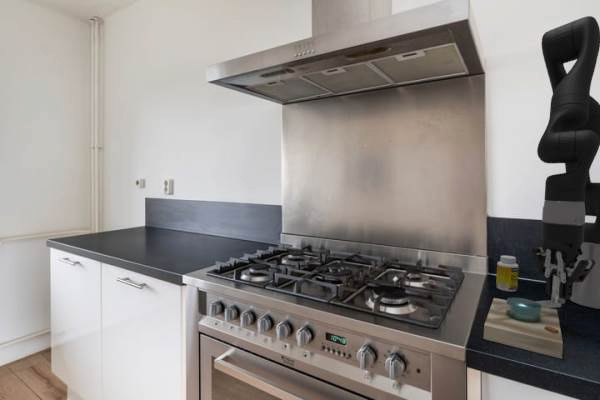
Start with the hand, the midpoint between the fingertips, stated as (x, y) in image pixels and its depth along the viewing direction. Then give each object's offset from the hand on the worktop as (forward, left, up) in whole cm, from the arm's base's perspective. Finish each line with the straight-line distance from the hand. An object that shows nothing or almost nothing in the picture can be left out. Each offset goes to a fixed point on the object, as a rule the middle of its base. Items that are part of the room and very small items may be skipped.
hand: (558, 295), depth 75 cm
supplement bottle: (-12, -24, -8) cm, 28 cm away
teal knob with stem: (+7, -1, -4) cm, 8 cm away
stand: (+9, -1, -7) cm, 12 cm away
